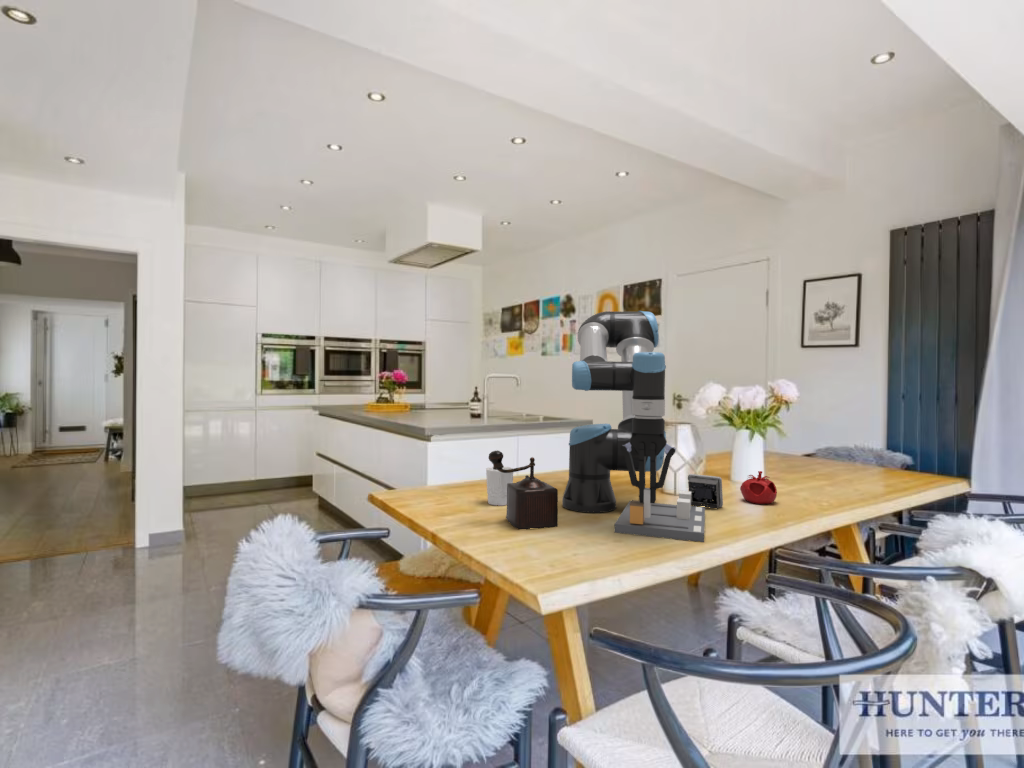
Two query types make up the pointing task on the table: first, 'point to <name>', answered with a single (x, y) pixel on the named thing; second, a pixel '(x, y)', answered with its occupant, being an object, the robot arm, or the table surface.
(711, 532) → the table surface
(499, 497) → the white cup
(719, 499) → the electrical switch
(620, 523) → the grey slider board
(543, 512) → the manual coffee grinder
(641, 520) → the brown rectangular block
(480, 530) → the table surface
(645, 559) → the table surface
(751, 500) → the pomegranate
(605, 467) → the robot arm
